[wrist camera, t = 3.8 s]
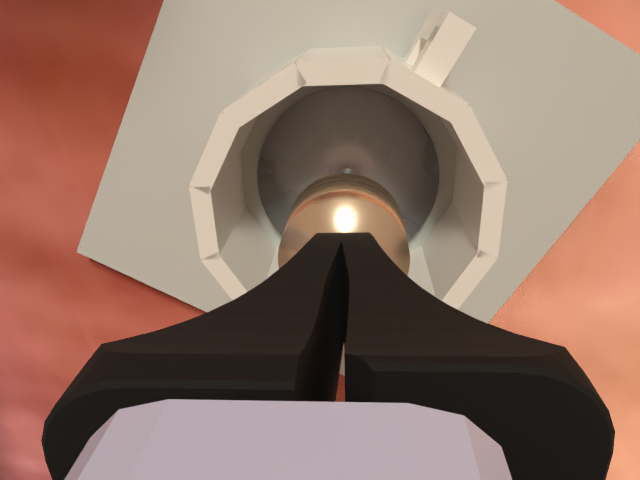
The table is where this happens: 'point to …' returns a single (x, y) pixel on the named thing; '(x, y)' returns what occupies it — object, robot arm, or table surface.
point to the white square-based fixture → (384, 76)
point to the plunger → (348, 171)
